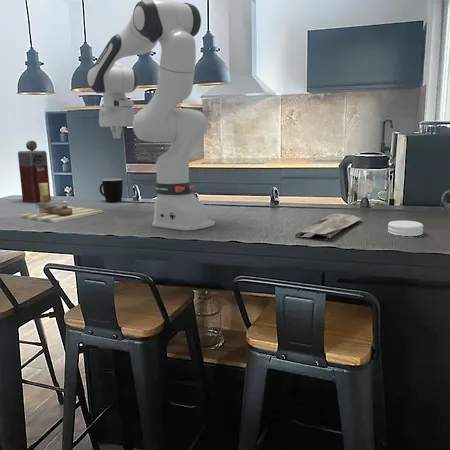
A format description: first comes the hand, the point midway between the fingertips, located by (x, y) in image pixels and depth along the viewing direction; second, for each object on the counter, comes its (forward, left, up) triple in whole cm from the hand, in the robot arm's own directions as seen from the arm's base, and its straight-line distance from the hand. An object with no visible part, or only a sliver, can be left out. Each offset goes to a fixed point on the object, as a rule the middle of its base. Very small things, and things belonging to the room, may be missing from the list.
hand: (116, 138), depth 191 cm
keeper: (+3, +27, -28) cm, 39 cm away
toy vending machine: (+49, +13, -29) cm, 58 cm away
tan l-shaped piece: (+5, +26, -28) cm, 38 cm away
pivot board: (+6, +23, -29) cm, 38 cm away
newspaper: (-87, -21, -30) cm, 95 cm away
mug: (+22, -9, -29) cm, 38 cm away
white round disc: (-108, -29, -29) cm, 116 cm away
